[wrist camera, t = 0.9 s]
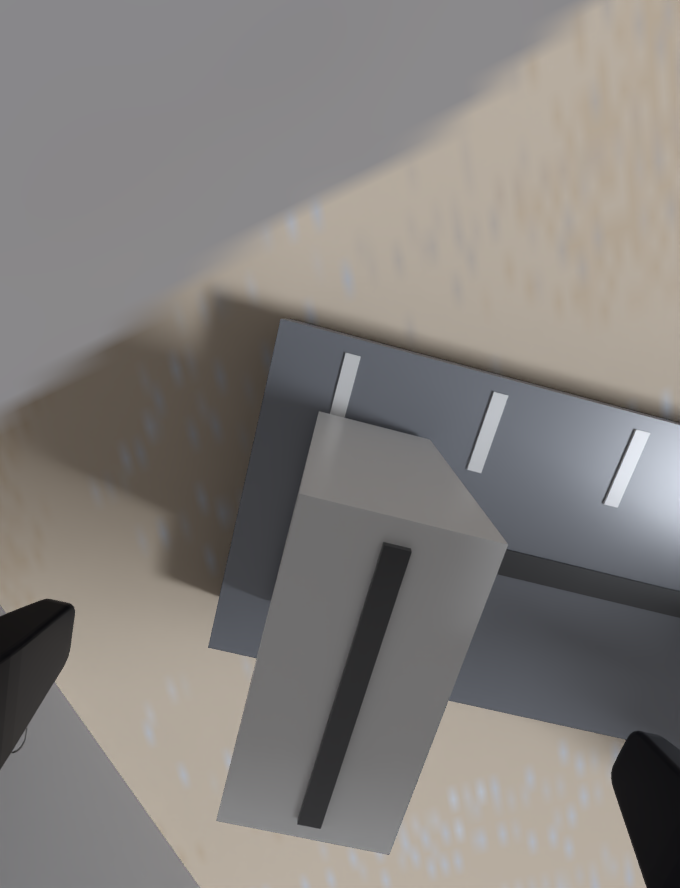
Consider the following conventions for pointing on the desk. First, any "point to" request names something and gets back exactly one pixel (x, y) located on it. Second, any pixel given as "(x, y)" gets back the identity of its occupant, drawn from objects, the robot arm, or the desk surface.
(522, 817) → the desk surface
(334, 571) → the fader knob
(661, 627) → the fader board
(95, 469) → the desk surface
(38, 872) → the grey curved piece
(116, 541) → the desk surface
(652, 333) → the desk surface
